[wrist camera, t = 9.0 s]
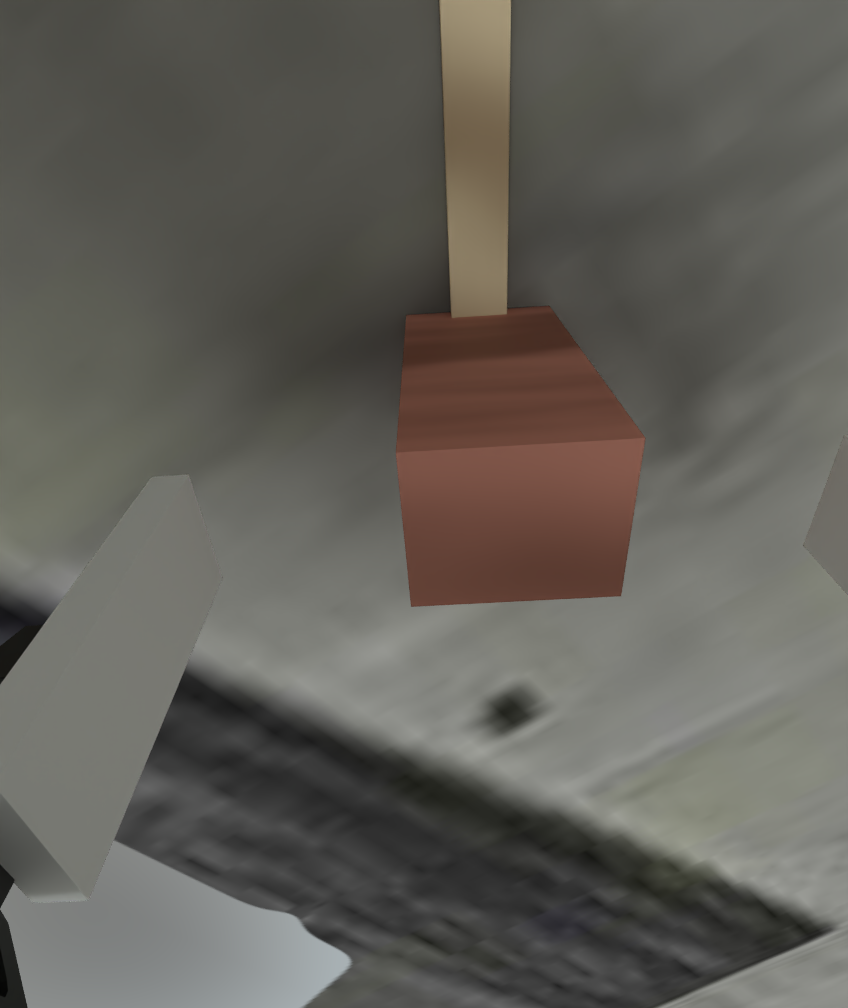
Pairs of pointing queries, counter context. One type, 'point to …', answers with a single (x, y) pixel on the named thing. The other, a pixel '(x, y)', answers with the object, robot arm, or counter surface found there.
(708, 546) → the counter surface
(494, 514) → the tethered block
